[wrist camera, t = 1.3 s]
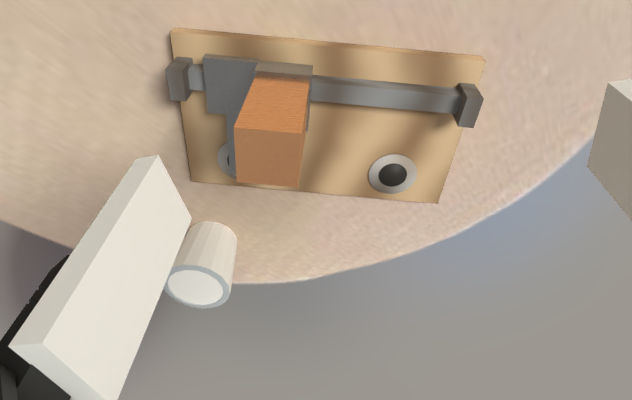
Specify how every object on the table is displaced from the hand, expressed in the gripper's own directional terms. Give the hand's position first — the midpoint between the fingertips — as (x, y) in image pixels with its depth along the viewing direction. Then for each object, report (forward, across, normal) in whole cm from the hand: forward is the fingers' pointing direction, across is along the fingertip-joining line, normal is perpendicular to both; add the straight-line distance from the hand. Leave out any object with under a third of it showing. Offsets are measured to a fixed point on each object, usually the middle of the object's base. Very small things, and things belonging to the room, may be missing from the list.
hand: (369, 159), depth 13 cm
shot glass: (+22, -19, -22) cm, 37 cm away
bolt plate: (+22, -4, -10) cm, 24 cm away
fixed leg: (+20, -11, -7) cm, 24 cm away
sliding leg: (+20, -7, -8) cm, 23 cm away
